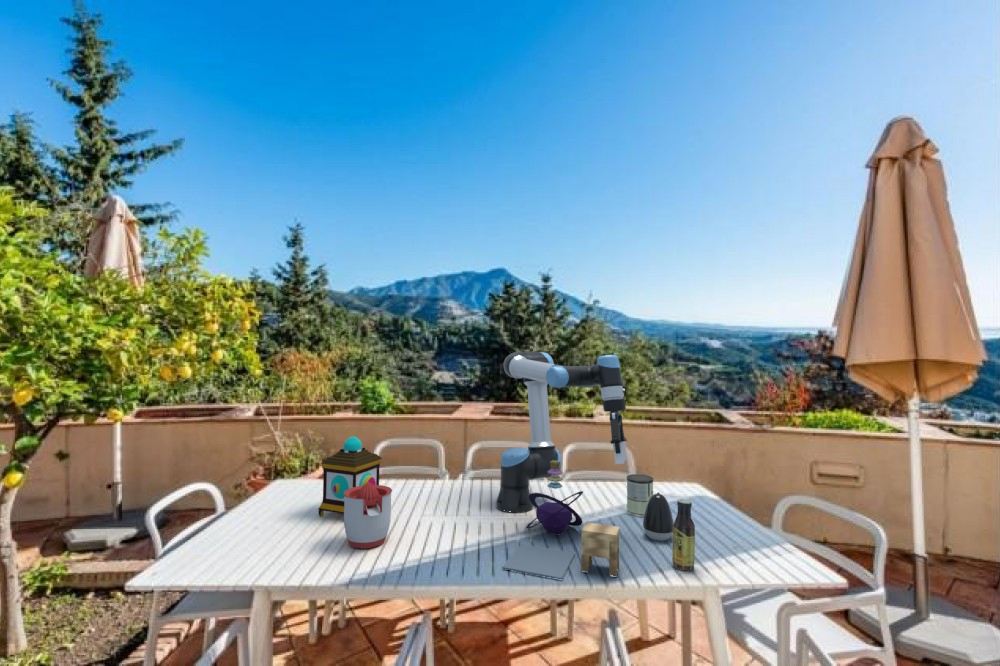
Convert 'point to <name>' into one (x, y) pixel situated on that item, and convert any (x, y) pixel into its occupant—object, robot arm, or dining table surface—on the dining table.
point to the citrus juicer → (367, 515)
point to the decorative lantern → (347, 474)
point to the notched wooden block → (600, 545)
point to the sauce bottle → (684, 537)
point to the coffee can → (638, 493)
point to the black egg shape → (658, 518)
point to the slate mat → (540, 561)
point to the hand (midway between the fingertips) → (621, 462)
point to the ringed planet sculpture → (554, 507)
